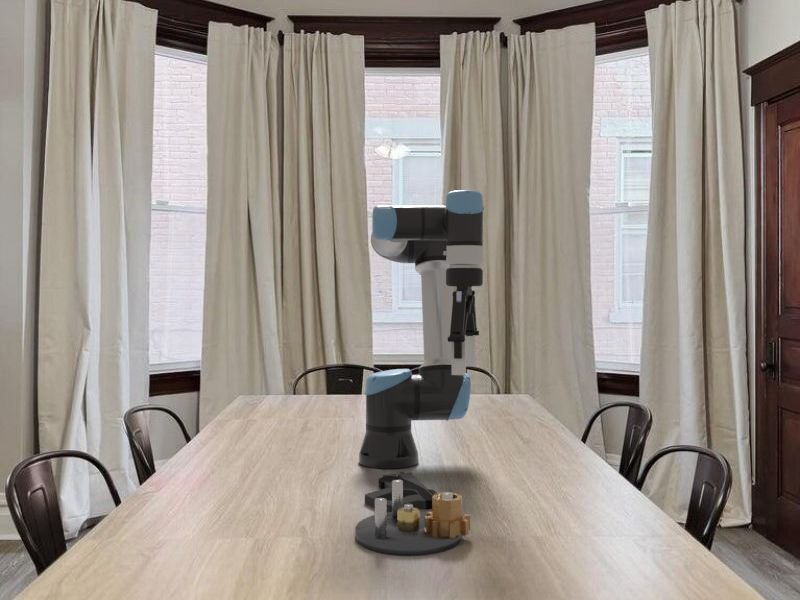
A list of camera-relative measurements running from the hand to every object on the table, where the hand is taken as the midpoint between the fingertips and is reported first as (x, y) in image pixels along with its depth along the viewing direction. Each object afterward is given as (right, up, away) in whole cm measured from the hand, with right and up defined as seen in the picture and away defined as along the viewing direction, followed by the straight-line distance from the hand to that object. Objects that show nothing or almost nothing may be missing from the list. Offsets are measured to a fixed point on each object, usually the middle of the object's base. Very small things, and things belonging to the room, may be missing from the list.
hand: (464, 370), depth 145 cm
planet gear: (-5, -26, -21) cm, 34 cm away
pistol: (-14, -28, +6) cm, 32 cm away
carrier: (-12, -28, -19) cm, 36 cm away
